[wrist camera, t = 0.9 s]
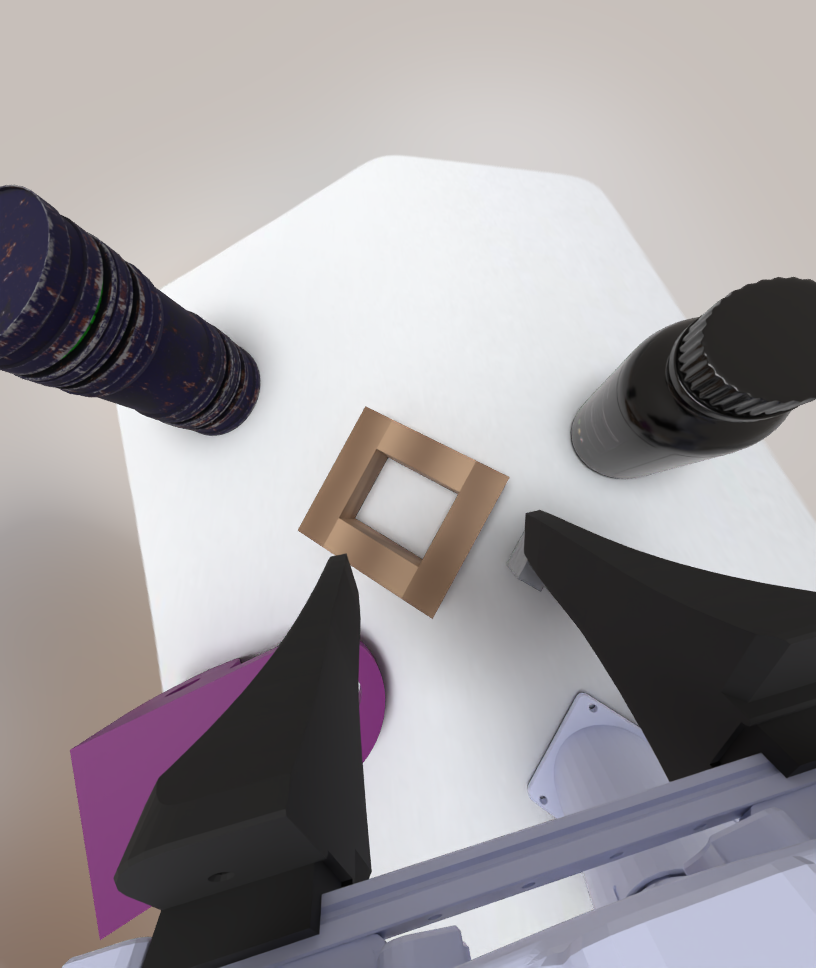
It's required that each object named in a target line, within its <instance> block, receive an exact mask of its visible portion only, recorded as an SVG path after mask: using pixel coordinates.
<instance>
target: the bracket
mask: <svg viewBox="0 0 816 968" xmlns="http://www.w3.org/2000/svg"><path fill="white" fill-rule="evenodd" d="M524 537H525V530H524V532H523V534H522V536H521V538H520V540H519V541H518V543H517V545H516V547H515V549H514V551H513V553H512V554H511V556H510V558H509V560H508V562H507V566H508V567H509V568H510V569H511V571H512V572H513V573H514V574H515V576H516V577H517V578H518V579H520V580H521V581H523V582H525V583H527V584H528V585H530V586H532V587H534V588H535V589H537V590H539V591H541V590H542V588H543V587H545V588H547V587H546V586H545V585H544V584H543V582H542V581H541V580H540V578H539V577H538V576H537V574H536V573H535V571H534V570H533V568H532V566H531V565H530V563H529V561H528V560H527V558H526V556H525V554H524Z"/></svg>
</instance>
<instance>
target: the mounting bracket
mask: <svg viewBox="0 0 816 968" xmlns="http://www.w3.org/2000/svg"><path fill="white" fill-rule="evenodd" d="M277 648H278V646H277V647H275V648H273V649H271V650H269V651H267V652H265V653H263V654H261V655H258V656H256V657H254V658H252V659H250V660H248V661H246V662H244V663H242V664H241V662H240V659H239V658H238V659H234V660H232V661H229V662H227V663H224V664H222V665H219V666H217V667H214V668H212V669H210V670H207V671H205V672H203V673H201V674H199V675H197V676H195V677H193V678H191V679H189V680H187V681H185V682H183V683H181V684H179V685H177V686H175V687H173V688H171V689H169V690H167V691H165V692H164V693H162V694H160V695H158V696H156V697H154V698H153V699H151V700H149V701H147V702H145V703H144V704H142V705H140V706H138V707H137V708H135V709H133V710H132V711H130V712H128V713H127V714H125V715H124V716H122V717H120V718H119V719H117V720H116V721H114V722H113V723H111V724H110V725H108V726H107V727H105V728H103V729H102V730H100V731H99V732H97V733H96V734H94V735H93V736H91V737H89V738H88V739H86V740H85V741H83V742H82V743H80V744H79V745H77V746H75V747H74V748H72V749H71V750H70V753H71V760H72V766H73V772H74V779H75V785H76V791H77V798H78V803H79V810H80V816H81V822H82V829H83V835H84V841H85V848H86V854H87V860H88V867H89V873H90V879H91V886H92V892H93V898H94V905H95V911H96V917H97V924H98V930H99V936H100V940H101V939H102V938H104V937H106V936H107V935H109V934H110V933H112V932H113V931H115V930H116V929H118V928H119V927H121V926H122V925H124V924H126V923H127V922H128V921H130V920H132V919H133V918H135V917H136V916H138V915H139V914H141V913H142V912H144V911H145V910H147V909H148V908H150V907H151V906H150V905H147V904H145V903H142V902H140V901H137V900H135V899H132V898H130V897H127V896H126V895H124V894H122V893H121V892H119V891H118V889H117V887H116V884H115V882H114V879H113V878H114V875H115V873H116V871H117V868H118V866H119V864H120V861H121V859H122V857H123V854H124V852H125V850H126V848H127V845H128V843H129V841H130V838H131V836H132V834H133V832H134V829H135V827H136V825H137V822H138V820H139V818H140V816H141V813H142V811H143V809H144V806H145V804H146V802H147V800H148V798H149V796H150V794H151V792H152V790H153V788H154V786H155V784H156V782H157V780H158V778H159V777H160V776H161V775H162V774H163V773H164V772H165V771H166V770H167V769H168V768H169V767H170V766H172V765H173V764H174V763H175V762H176V761H177V760H178V759H179V758H180V757H181V756H182V755H183V754H184V753H185V752H186V751H187V750H188V749H189V748H190V747H191V746H192V745H193V744H194V743H195V742H196V741H197V740H198V739H199V738H200V737H201V736H202V735H203V734H204V733H205V732H206V731H207V730H208V729H209V728H210V727H211V726H212V725H213V724H214V723H215V722H216V720H217V719H218V718H219V717H220V716H221V715H222V714H223V713H224V712H225V711H226V710H227V709H228V708H229V706H230V705H231V704H232V703H233V702H234V701H235V700H236V699H237V698H238V696H239V695H240V694H241V693H242V692H243V691H244V690H245V688H246V687H247V686H248V685H249V684H250V682H251V681H252V680H253V679H254V678H255V676H256V675H257V674H258V673H259V671H260V670H261V669H262V668H263V666H264V665H265V664H266V662H267V661H268V660H269V659H270V657H271V656H272V655H273V653H274V652H275V650H276V649H277ZM358 681H359V683H360V690H359V712H360V730H361V746H362V761H363V762H364V761H365V759H366V758H367V757H368V755H369V754H370V752H371V750H372V749H373V747H374V745H375V743H376V741H377V738H378V736H379V733H380V730H381V727H382V723H383V719H384V712H385V690H384V684H383V680H382V676H381V673H380V671H379V668H378V665H377V663H376V661H375V659H374V657H373V655H372V653H371V652H370V651H369V649H368V648H367V647H366V646H365V645H364V644H363V643H362V641H360V649H359V678H358Z"/></svg>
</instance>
